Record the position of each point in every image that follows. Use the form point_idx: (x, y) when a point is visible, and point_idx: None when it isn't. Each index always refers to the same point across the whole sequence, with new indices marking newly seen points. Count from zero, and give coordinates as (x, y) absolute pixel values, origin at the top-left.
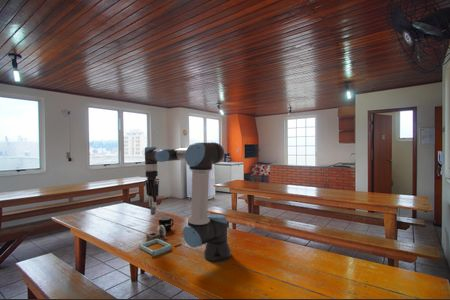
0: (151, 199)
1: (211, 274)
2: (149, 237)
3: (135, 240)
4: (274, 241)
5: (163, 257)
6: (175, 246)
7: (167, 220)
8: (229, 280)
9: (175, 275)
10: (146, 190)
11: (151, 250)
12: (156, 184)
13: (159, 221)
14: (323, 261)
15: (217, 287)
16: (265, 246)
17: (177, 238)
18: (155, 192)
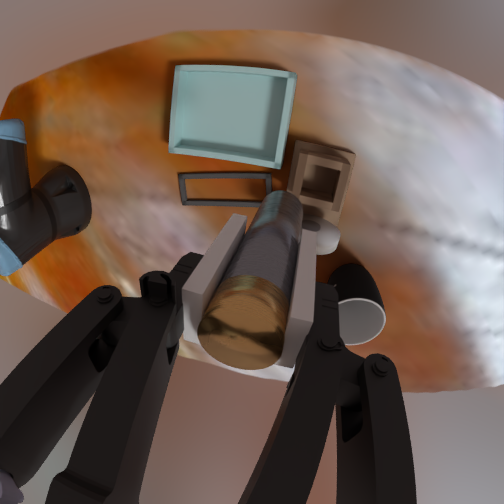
0: (234, 274)
1: (33, 125)
2: (320, 156)
3: (404, 146)
4: (67, 308)
5: (152, 89)
6: (183, 174)
7: None
8: None
9: (67, 64)
10: (405, 433)
11: (189, 67)
12: (3, 460)
13: (368, 292)
14: None
15: (15, 106)
16: (58, 283)
17: None
18: (57, 334)
